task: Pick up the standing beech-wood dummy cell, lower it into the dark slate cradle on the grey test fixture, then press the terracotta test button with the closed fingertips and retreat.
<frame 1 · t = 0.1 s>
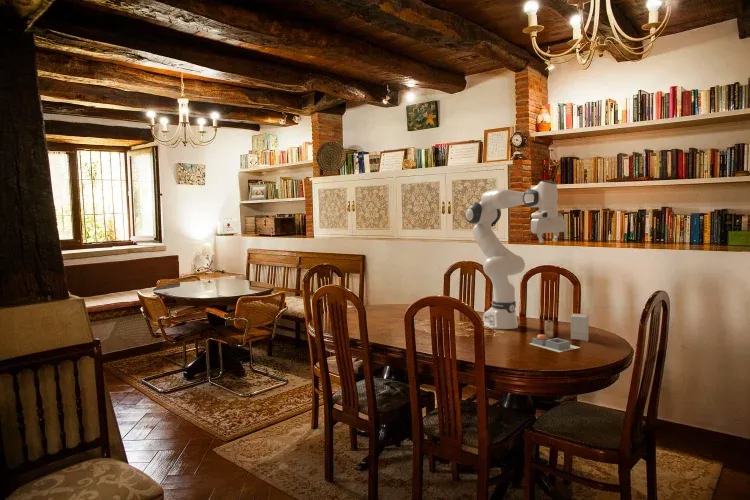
hand: (548, 242, 256), 48 cm above the table, fingers open, 8 cm apart
supplement box: (579, 341, 253), on the table
grey test fixture: (554, 348, 240), on the table
cell: (548, 339, 257), on the table
test button: (541, 337, 244), point 4 cm above the table, slide at 0.0 cm
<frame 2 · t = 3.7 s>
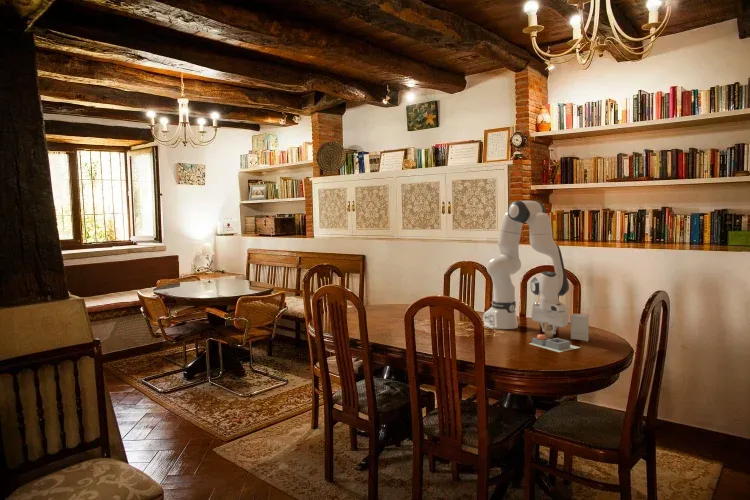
hand: (549, 332, 257), 3 cm above the table, fingers closed on cell, 4 cm apart
cell: (548, 339, 257), on the table, touching gripper
everything else where it was.
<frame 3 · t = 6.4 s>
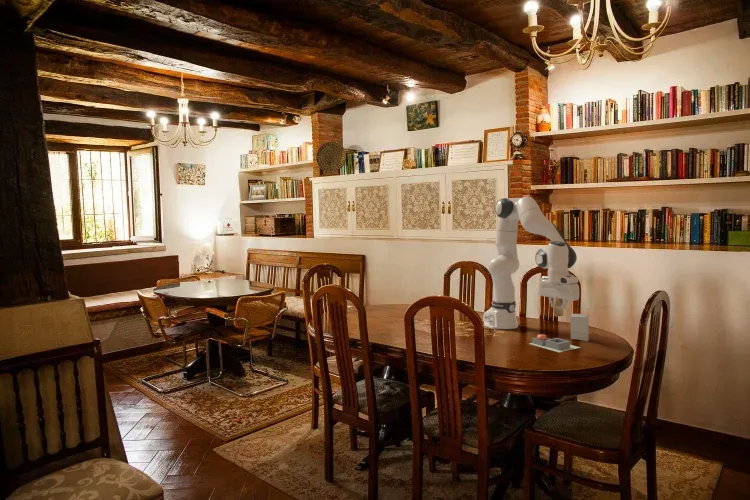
hand: (558, 308, 236), 19 cm above the table, fingers closed on cell, 4 cm apart
cell: (558, 315, 236), point 16 cm above the table, touching gripper
everything else where it was.
when the fingers open (6 cm above the table, at t = 9.3 s): cell stays where it is, resting on grey test fixture.
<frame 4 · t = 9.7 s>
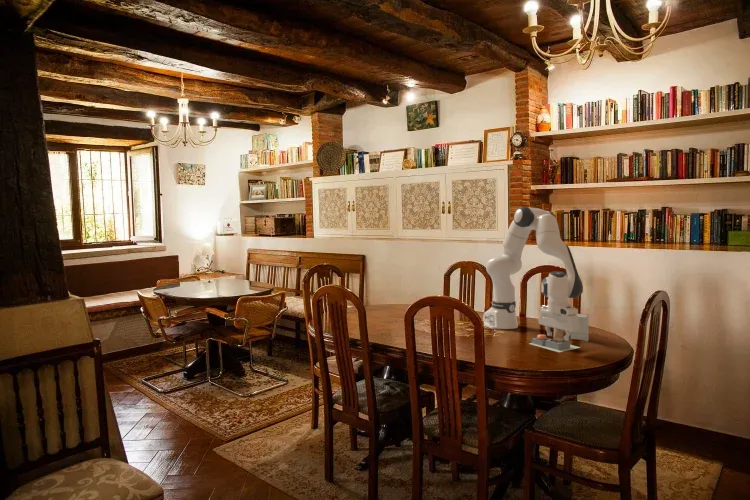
hand: (557, 337, 237), 6 cm above the table, fingers open, 8 cm apart
cell: (558, 347, 237), point 2 cm above the table, touching grey test fixture
everything else where it was.
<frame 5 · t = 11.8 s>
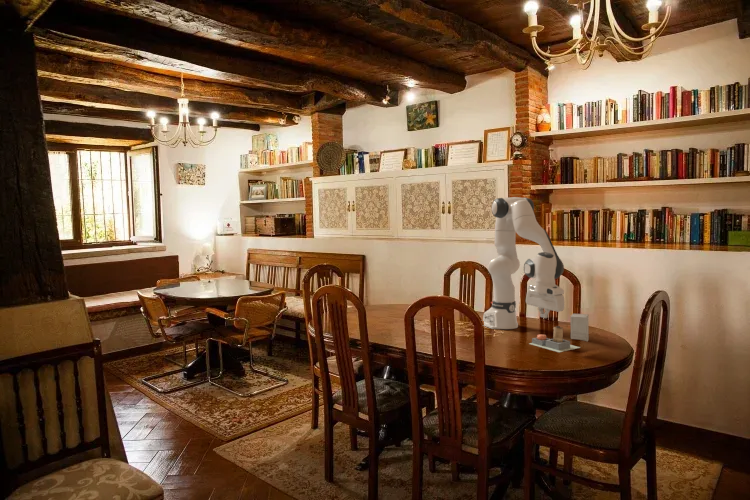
hand: (543, 317, 242), 14 cm above the table, fingers closed
nothing on the table moved.
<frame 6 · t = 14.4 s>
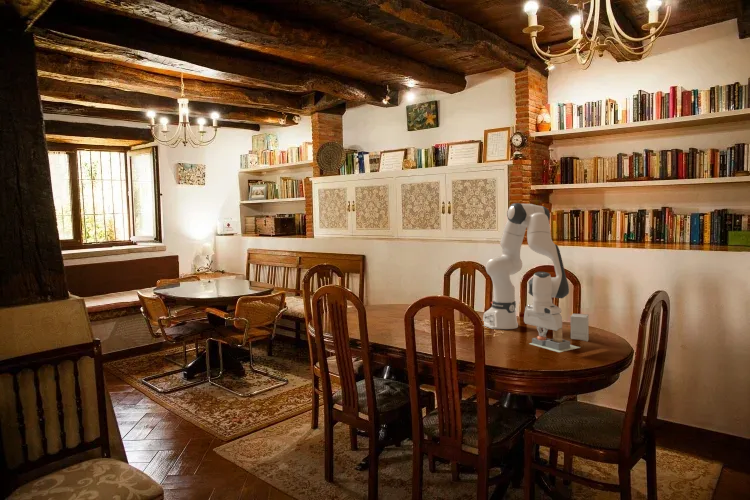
hand: (542, 336, 244), 5 cm above the table, fingers closed, pressing on test button
test button: (541, 339, 244), point 4 cm above the table, slide at -0.6 cm, touching gripper
everything else where it was.
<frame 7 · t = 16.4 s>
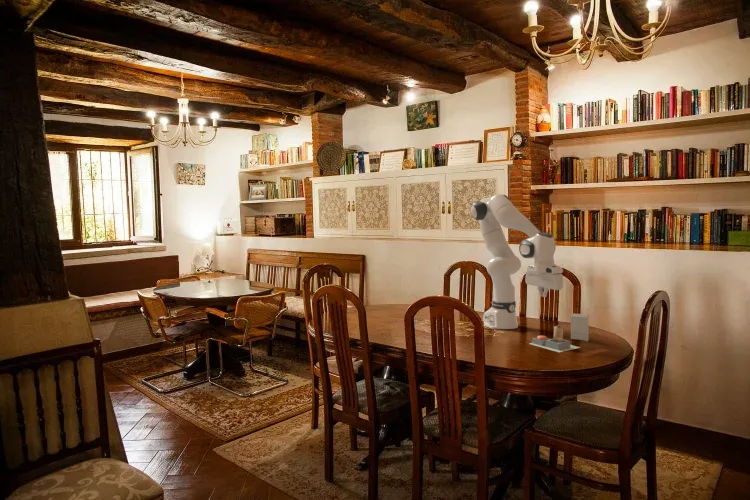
hand: (542, 296, 246), 23 cm above the table, fingers closed
test button: (541, 339, 244), point 4 cm above the table, slide at -0.6 cm
everything else where it was.
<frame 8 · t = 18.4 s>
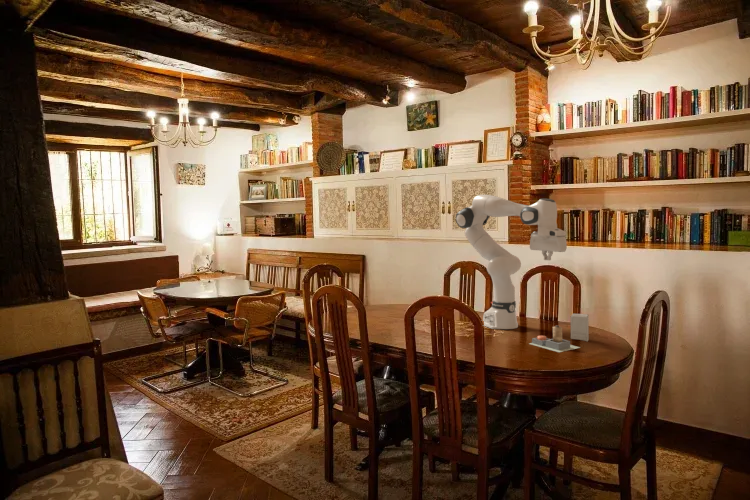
hand: (547, 260, 255), 39 cm above the table, fingers closed
nothing on the table moved.
at the end: cell 0.1 cm from the target spot on the grey test fixture, point 1.7 cm above the grey test fixture's base; cell tilted 5°; the gripper is holding nothing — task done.
